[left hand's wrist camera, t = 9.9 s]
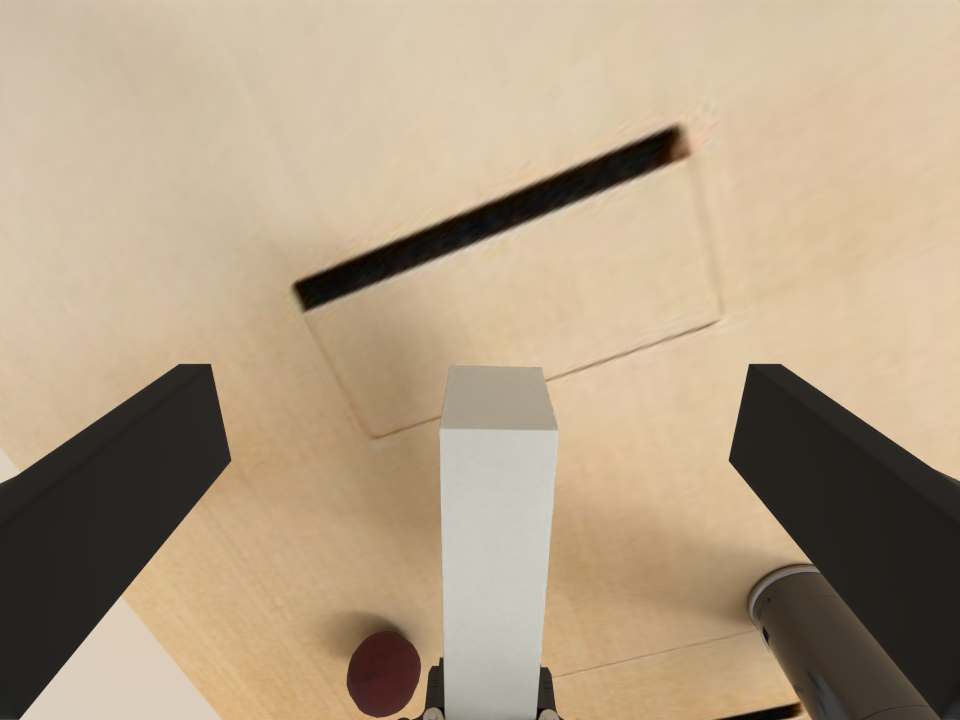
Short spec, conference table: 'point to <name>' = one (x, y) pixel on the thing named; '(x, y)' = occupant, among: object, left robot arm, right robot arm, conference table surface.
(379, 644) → the dark red ball
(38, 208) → the conference table surface
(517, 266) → the conference table surface
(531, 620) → the bar
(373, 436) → the conference table surface
